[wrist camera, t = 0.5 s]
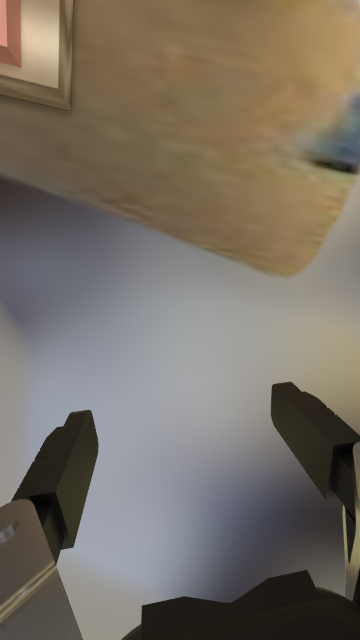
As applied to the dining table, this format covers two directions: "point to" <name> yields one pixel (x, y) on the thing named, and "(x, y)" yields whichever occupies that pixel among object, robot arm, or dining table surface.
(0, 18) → the tile
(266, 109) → the dining table surface
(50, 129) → the dining table surface
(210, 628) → the robot arm
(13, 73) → the board
